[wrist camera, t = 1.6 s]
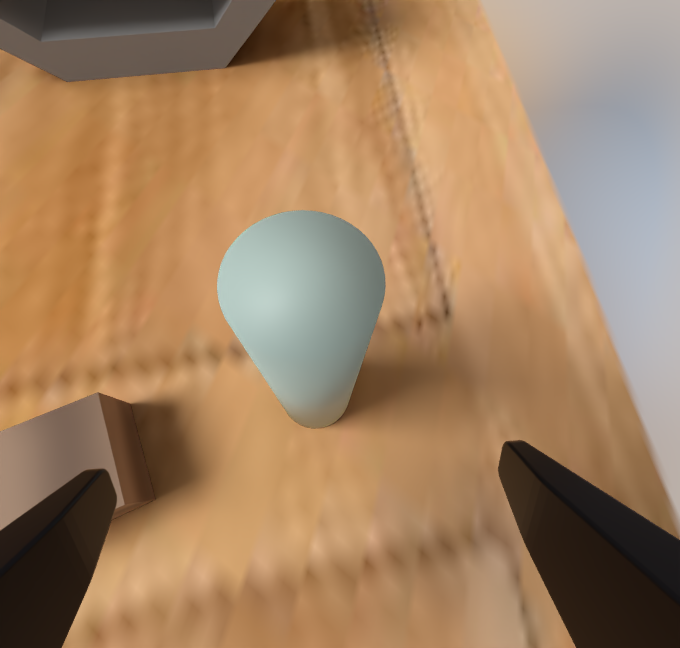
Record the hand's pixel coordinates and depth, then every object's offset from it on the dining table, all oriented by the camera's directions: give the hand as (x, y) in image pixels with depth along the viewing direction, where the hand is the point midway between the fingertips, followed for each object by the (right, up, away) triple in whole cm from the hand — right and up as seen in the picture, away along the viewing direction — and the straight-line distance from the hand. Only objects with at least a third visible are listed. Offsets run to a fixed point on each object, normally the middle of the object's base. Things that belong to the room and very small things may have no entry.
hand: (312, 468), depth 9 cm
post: (-1, 0, +12) cm, 12 cm away
